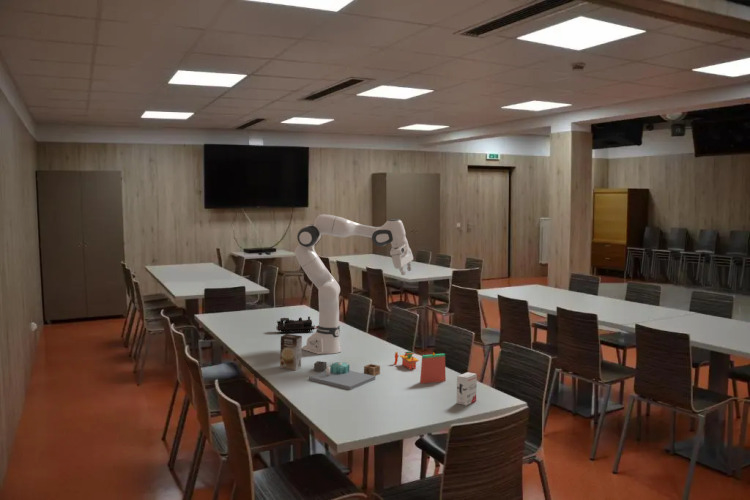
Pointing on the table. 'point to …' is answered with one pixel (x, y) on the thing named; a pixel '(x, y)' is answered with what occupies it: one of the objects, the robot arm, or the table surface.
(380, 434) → the table surface
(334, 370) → the gear board
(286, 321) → the toy train
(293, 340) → the coffee box
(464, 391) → the ink box
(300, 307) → the table surface
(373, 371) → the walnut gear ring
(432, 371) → the toy building block set
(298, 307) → the table surface
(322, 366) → the dark gray block
